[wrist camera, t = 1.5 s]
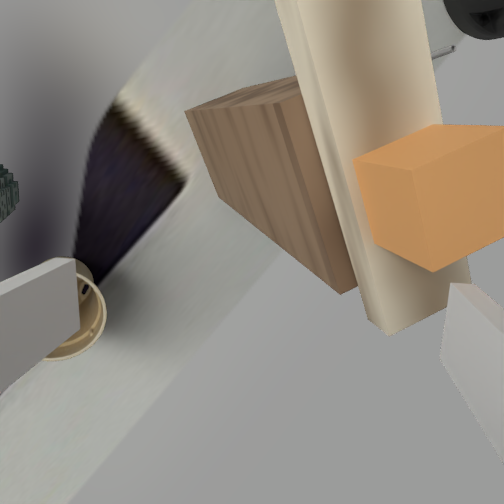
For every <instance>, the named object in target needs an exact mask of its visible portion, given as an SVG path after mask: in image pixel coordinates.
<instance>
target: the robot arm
mask: <svg viewBox="0 0 504 504" xmlns="http://www.w3.org/2000/svg"><path fill="white" fill-rule="evenodd" d="M444 3H445V6H446V8H447V11H448V13H449V15H450V17H451V18H452V20H453V21H454V23H455V24H456V25H457V26H458V27H459V28H460V29H461V30H462V31H463V32H465V33H466V34H468V35H469V36H472V37H474V38H477V39H483V40H491V39H497V38H502V37H504V0H444ZM79 329H80V317H79V303H78V290H77V276H76V263H75V259H70V258H54V259H51V260H49V261H47V262H45V263H42V264H40V265H38V266H36V267H34V268H31V269H29V270H27V271H24V272H22V273H20V274H18V275H16V276H13V277H11V278H9V279H7V280H5V281H2V282H0V393H1V392H3V391H4V390H5V389H6V388H8V387H9V386H10V385H11V384H13V383H14V382H15V381H16V380H17V379H19V378H20V377H21V376H22V375H24V374H25V373H26V372H27V371H29V370H30V369H31V368H32V367H34V366H35V365H36V364H37V363H39V362H40V361H41V360H42V359H44V358H45V357H46V356H47V355H48V354H50V353H51V352H52V351H53V350H55V349H56V348H57V347H58V346H60V345H61V344H62V343H63V342H65V341H66V340H67V339H68V338H70V337H71V336H72V335H73V334H74V333H76V332H77V331H78V330H79ZM440 360H441V362H442V364H443V365H444V367H445V369H446V370H447V372H448V373H449V375H450V377H451V379H452V380H453V382H454V383H455V385H456V387H457V388H458V390H459V391H460V393H461V395H462V397H463V398H464V400H465V402H466V403H467V405H468V407H469V408H470V410H471V412H472V413H473V415H474V416H475V418H476V420H477V421H478V423H479V425H480V426H481V428H482V430H483V431H484V433H485V434H486V436H487V438H488V440H489V441H490V443H491V445H492V446H493V448H494V449H495V451H496V453H497V454H498V456H499V458H500V459H501V461H502V463H503V464H504V308H502V307H501V306H500V305H499V304H498V303H496V302H495V301H494V300H493V299H492V298H490V297H489V296H488V295H487V294H486V293H485V292H483V291H482V290H481V289H480V288H479V287H478V286H476V285H475V284H465V283H450V289H449V296H448V303H447V310H446V317H445V323H444V330H443V337H442V344H441V351H440Z"/></svg>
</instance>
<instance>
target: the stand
mask: <svg viewBox="0 0 504 504" xmlns="http://www.w3.org/2000/svg"><path fill="white" fill-rule="evenodd" d="M184 112H185V114H186V117H187V119H188V122H189V124H190V127H191V129H192V132H193V134H194V137H195V139H196V142H197V144H198V147H199V149H200V152H201V154H202V157H203V159H204V162H205V164H206V167H207V169H208V172H209V174H210V177H211V179H212V182H213V184H214V187H215V189H216V192H217V194H218V197H219V198H220V199H222V200H223V201H224V202H225V203H227V204H228V205H229V206H230V207H232V208H233V209H234V210H235V211H237V212H238V213H239V214H240V215H242V216H243V217H244V218H245V219H246V220H248V221H249V222H250V223H251V224H253V225H254V226H255V227H256V228H258V229H259V230H260V231H261V232H263V233H264V234H265V235H266V236H268V237H269V238H270V239H271V240H273V241H274V242H275V243H276V244H278V245H279V246H280V247H281V248H283V249H284V250H285V251H286V252H288V253H289V254H290V255H291V256H293V257H294V258H295V259H296V260H298V261H299V262H300V263H301V264H303V265H304V266H305V267H306V268H308V269H309V270H310V271H311V272H313V273H314V274H315V275H316V276H318V277H319V278H320V279H321V280H322V281H324V282H325V283H326V284H328V285H329V286H330V287H331V288H332V289H334V290H335V291H336V292H337V293H339V294H340V295H341V294H343V293H345V292H347V291H349V290H351V289H353V288H355V287H357V286H358V283H357V280H356V277H355V273H354V270H353V266H352V263H351V260H350V256H349V253H348V249H347V246H346V243H345V239H344V236H343V232H342V229H341V226H340V222H339V219H338V215H337V212H336V209H335V205H334V202H333V198H332V195H331V192H330V188H329V185H328V181H327V178H326V175H325V171H324V168H323V164H322V161H321V157H320V154H319V151H318V147H317V144H316V140H315V137H314V134H313V130H312V127H311V123H310V120H309V117H308V113H307V110H306V106H305V103H304V100H303V96H302V93H301V89H300V86H299V83H298V79H297V76H292V77H288V78H284V79H280V80H275V81H271V82H267V83H263V84H258V85H254V86H250V87H246V88H242V89H240V90H237V91H235V92H232V93H230V94H227V95H225V96H222V97H220V98H217V99H214V100H212V101H209V102H207V103H204V104H202V105H199V106H197V107H194V108H192V109H189V110H187V111H184Z"/></svg>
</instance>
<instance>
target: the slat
mask: <svg viewBox="0 0 504 504" xmlns="http://www.w3.org/2000/svg"><path fill="white" fill-rule="evenodd" d="M274 1H275V4H276V8H277V11H278V15H279V18H280V21H281V25H282V28H283V32H284V35H285V38H286V42H287V45H288V49H289V52H290V55H291V59H292V62H293V66H294V69H295V72H296V76H297V79H298V83H299V86H300V89H301V93H302V96H303V100H304V103H305V106H306V110H307V113H308V117H309V120H310V123H311V127H312V130H313V134H314V137H315V140H316V144H317V147H318V151H319V154H320V157H321V161H322V164H323V168H324V171H325V175H326V178H327V181H328V185H329V188H330V192H331V195H332V198H333V202H334V205H335V209H336V212H337V215H338V219H339V222H340V226H341V229H342V232H343V236H344V239H345V243H346V246H347V249H348V253H349V256H350V260H351V263H352V266H353V270H354V273H355V277H356V280H357V283H358V287H359V290H360V294H361V297H362V300H363V304H364V307H365V311H366V314H367V317H368V320H370V321H371V322H372V323H373V324H374V325H376V326H377V327H378V328H379V329H381V330H382V331H383V332H384V333H386V334H387V335H388V336H392V335H393V334H395V333H397V332H399V331H401V330H403V329H405V328H407V327H409V326H411V325H413V324H415V323H416V322H419V321H421V320H423V319H424V318H426V317H428V316H430V315H432V314H434V313H436V312H438V311H440V310H442V309H444V308H446V307H447V303H448V296H449V289H450V283H465V284H472V283H471V278H470V273H469V266H468V261H467V256H465V257H463V258H461V259H459V260H457V261H455V262H453V263H451V264H449V265H447V266H445V267H443V268H441V269H439V270H437V271H435V272H431V271H429V270H427V269H425V268H423V267H421V266H419V265H417V264H415V263H413V262H411V261H409V260H407V259H405V258H403V257H401V256H399V255H397V254H394V253H392V252H390V251H388V250H386V249H384V248H382V247H380V246H378V245H376V244H374V240H373V236H372V232H371V229H370V225H369V221H368V217H367V214H366V210H365V206H364V202H363V199H362V195H361V191H360V187H359V184H358V180H357V176H356V172H355V169H354V165H353V161H352V160H353V159H355V158H357V157H360V156H362V155H364V154H366V153H369V152H371V151H373V150H375V149H378V148H380V147H382V146H385V145H387V144H389V143H391V142H394V141H396V140H398V139H400V138H403V137H405V136H407V135H410V134H412V133H414V132H416V131H419V130H421V129H423V128H425V127H428V126H430V125H432V124H442V125H443V121H442V115H441V109H440V104H439V99H438V92H437V87H436V81H435V77H434V70H433V64H432V59H431V53H430V48H429V42H428V36H427V31H426V25H425V20H424V14H423V8H422V3H421V0H274Z"/></svg>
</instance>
